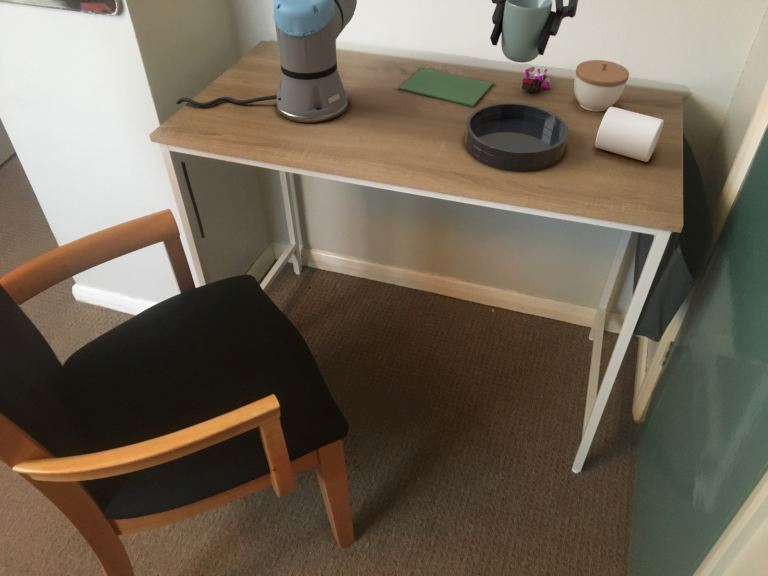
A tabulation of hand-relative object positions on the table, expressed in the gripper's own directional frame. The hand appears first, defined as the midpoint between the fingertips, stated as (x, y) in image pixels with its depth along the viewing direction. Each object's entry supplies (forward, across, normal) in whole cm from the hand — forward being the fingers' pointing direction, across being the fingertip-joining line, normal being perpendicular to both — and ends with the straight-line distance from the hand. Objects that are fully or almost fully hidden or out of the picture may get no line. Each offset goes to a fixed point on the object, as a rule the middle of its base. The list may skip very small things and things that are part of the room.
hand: (516, 46), depth 106 cm
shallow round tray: (+13, -2, -16) cm, 20 cm away
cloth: (+1, +20, -28) cm, 34 cm away
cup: (0, 0, -5) cm, 5 cm away
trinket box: (-4, -12, -33) cm, 35 cm away
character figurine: (-6, +2, -35) cm, 36 cm away
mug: (+6, -22, -22) cm, 32 cm away
